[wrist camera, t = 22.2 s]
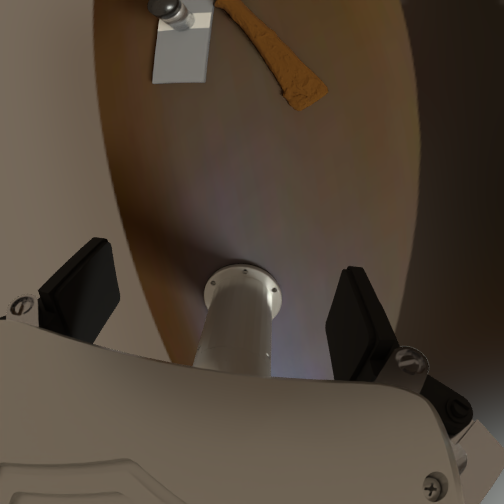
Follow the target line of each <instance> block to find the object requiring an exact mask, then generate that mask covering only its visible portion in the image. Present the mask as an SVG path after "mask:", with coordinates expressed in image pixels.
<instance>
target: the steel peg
mask: <svg viewBox="0 0 504 504" xmlns="http://www.w3.org/2000/svg"><path fill="white" fill-rule="evenodd" d="M148 10H149V12H150V13H152V14H153V15H155V16H156V17H158V18H159V19H160V20H162V21H163V22H165V23H166V24H167V25H169V26H170V27H172V28H173V29H174V30H176V31H180V32H182V31H186V30H188V29H190V28H191V27H192V26H193V25H194V23H195V16H194V15H193V14H192V13H191V11H190V10H189V9H188V8H187V7H186V6H185V5H184V4H183V3H182V2H181V1H180V0H149V2H148Z"/></svg>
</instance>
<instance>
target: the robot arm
mask: <svg viewBox="0 0 504 504" xmlns="http://www.w3.org/2000/svg"><path fill="white" fill-rule="evenodd" d="M244 269H246V270H244ZM38 292H39V295H40V298H39V299H37V298H36V296H34V295H32V294H24V295H21V296H18V297H17V298H15V299H14V300H13V301H11V302H10V304H9V305H8V308H7V314H6V316H3V317H1V318H0V504H479V503H480V502H481V501H482V500H483V498H484V497H485V495H486V494H487V493H488V491H489V490H490V489H491V487H492V486H493V484H494V483H495V481H496V480H497V478H498V476H499V475H500V473H501V472H502V470H503V468H504V448H503V447H502V446H501V445H500V444H499V442H498V441H497V440H496V439H495V438H494V437H493V436H492V435H491V434H490V432H489V431H488V430H487V429H486V428H485V427H484V426H483V425H482V424H481V423H480V422H479V421H478V420H476V421H475V422H474V421H473V420H472V417H473V410H472V407H471V405H470V403H469V402H468V400H467V399H465V398H464V397H463V396H461V395H460V394H458V393H457V392H455V391H453V390H452V389H450V388H449V387H447V386H445V385H444V384H442V383H441V382H439V381H437V380H436V379H434V378H433V377H431V376H429V375H428V371H429V363H428V361H427V359H426V357H425V356H424V355H423V354H422V353H421V352H420V351H418V350H417V349H414V348H412V347H408V346H401V347H400V346H399V344H398V341H397V339H396V336H395V334H394V332H393V329H392V327H391V325H390V322H389V320H388V318H387V316H386V313H385V311H384V309H383V307H382V305H381V303H380V302H379V300H378V298H377V296H376V294H375V291H374V289H373V287H372V285H371V283H370V281H369V279H368V277H367V275H366V273H365V271H364V269H363V268H362V267H353V266H348V267H347V269H343V270H342V273H341V276H340V279H339V283H338V286H337V289H336V293H335V296H334V299H333V302H332V305H331V309H330V312H329V315H328V318H327V321H326V327H325V329H326V335H327V340H328V346H329V351H330V357H331V362H332V368H333V374H334V380H316V379H298V378H283V377H271V333H272V319H273V318H274V317H275V316H276V315H277V313H278V312H279V310H280V307H281V303H282V294H281V290H280V286H279V285H278V283H277V281H276V280H275V279H274V278H273V276H272V275H270V274H269V273H268V272H266V271H265V270H263V269H261V268H259V267H256V266H253V265H247V264H234V265H229V266H226V267H223V268H221V269H219V270H218V271H216V272H215V273H214V274H213V275H212V276H211V277H210V278H209V280H208V281H207V284H206V286H205V290H204V301H205V305H206V307H207V309H208V314H207V317H206V321H205V324H204V328H203V331H202V335H201V338H200V342H199V345H198V349H197V353H196V356H195V360H194V364H193V366H187V365H181V364H176V363H171V362H165V361H161V360H156V359H151V358H146V357H142V356H138V355H134V354H129V353H125V352H121V351H117V350H113V349H109V348H106V347H102V346H98V345H95V344H93V342H94V341H95V339H96V338H97V336H98V334H99V333H100V331H101V330H102V328H103V326H104V325H105V323H106V322H107V320H108V319H109V317H110V315H111V314H112V312H113V311H114V309H115V308H116V306H117V304H118V303H119V301H120V293H119V288H118V283H117V278H116V272H115V267H114V260H113V254H112V247H111V244H110V243H109V242H108V241H107V239H104V238H97V237H94V238H92V239H91V240H90V241H89V242H88V243H87V244H85V245H84V246H83V247H82V248H81V249H80V250H79V251H78V252H77V253H76V254H75V255H74V256H72V257H71V258H70V259H69V260H68V261H67V262H66V263H65V264H64V265H63V266H62V267H61V268H60V269H59V270H58V271H57V272H56V273H55V274H54V275H53V276H52V277H51V278H50V279H49V280H48V281H47V282H46V283H45V284H44V285H43V286H42V287H41V288H40V289H39V290H38Z"/></svg>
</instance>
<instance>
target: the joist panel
mask: <svg viewBox="0 0 504 504" xmlns="http://www.w3.org/2000/svg"><path fill="white" fill-rule="evenodd" d="M180 1H181V2H182V3H183V4H184V5H185V6H186V7H187V8H188V9H189V10H190V11H191V13H192V14H193V15H194V16H195V23H194V25H193V26H192V27H191V28H190V29H188V30H186V31H182V32H180V31H176V30H174V29H173V28H172V27H170V26H169V25H167V24H166V23H165V22H163V21H162V20H160V19H159V26H158V35H157V43H156V51H155V60H154V70H153V81H152V83H153V84H162V83H205V80H206V70H207V60H208V51H209V43H210V34H211V27H212V19H213V12H214V4H215V0H180Z"/></svg>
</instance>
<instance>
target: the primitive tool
mask: <svg viewBox="0 0 504 504" xmlns="http://www.w3.org/2000/svg"><path fill="white" fill-rule="evenodd" d="M214 6H215V7H218V8H222V9H224V10H225V11H226V12H227V13H229V14H230V15H231V17H232V19H233V20H234V21H235V22H237V23H238V24H239V26H240V27H241V28H242V29H243V30H244V32H245V33H246V34H247V35H248V37H249V38H250V40H251V41H252V42H253V44H254V45H255V46H256V48H257V49H258V51H259V52H260V54H261V56H262V57H263V58H264V60H265V62H266V64H267V65H268V66H269V69H270V71H272V72H273V74H274V75H275V77H276V79H277V81H278V82H279V84H280V86H281V88H282V90H283V92H284V93H283V97H284V98H286V99H287V101H288V103H289V105H290V106H292V107H293V108H294V109H295V110H297V111H301V110H303V109H304V108H306V107H308V106H310V105H312V104H313V103H314V102H316V101H318V100H319V99H320V98H322V97H323V96H324V95H326V94H327V93H328V88H327V86H326V85H325V84H324V83H323V82H322V80H320V79H319V78H318V77H317V76H316V75H315V74H314V73H313V72H312V71H311V70H310V69H309V68H308V67H307V66H306V65H305V64H304V63H303V62H302V61H301V60H300V59H299V58H298V57H297V56H296V55H295V53H294V52H293V51H292V50H291V49H290V48H289V47H288V46H287V45H286V44H285V43H283V42H282V41H281V39H280V38H279V37H278V36H277V35H276V33H275V31H273V30H272V29H270V28H268V27H267V26H266V25H265V24H264V23H263V22H262V21H261V20H260V19H258V18H257V17H256V16H255V15H254V14H253V13H252V11H251V10H250V9H248V8H247V7H246V6H245V5H244V4H243V2H242V1H241V0H217V1H216V2H215V4H214Z"/></svg>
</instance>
